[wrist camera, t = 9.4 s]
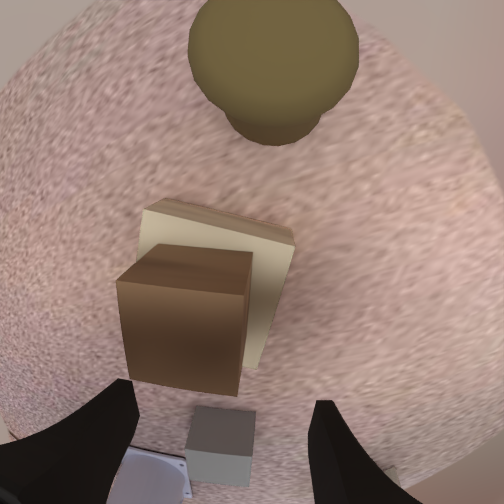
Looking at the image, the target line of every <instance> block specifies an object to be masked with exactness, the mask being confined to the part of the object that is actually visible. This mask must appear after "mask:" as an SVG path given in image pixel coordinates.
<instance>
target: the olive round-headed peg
mask: <svg viewBox="0 0 504 504" xmlns="http://www.w3.org/2000/svg"><path fill="white" fill-rule="evenodd" d="M188 59H189V63H190V67H191V70H192V74H193V77H194V81H195V82H196V83H197V85H198V86H199V87H200V89H201V90H202V92H203V93H204V94H205V96H206V97H207V99H208V100H209V101H210V102H212V103H213V104H214V105H216V106H217V107H219V108H220V109H221V110H223V111H224V112H225V114H226V117H227V119H228V120H229V122H230V123H231V125H232V126H233V127H234V129H235V130H236V131H237V132H239V133H240V134H241V135H243V136H244V137H245V138H246V139H248V140H251V141H253V142H256V143H259V144H261V145H271V146H281V145H285V144H290V143H294V142H296V141H298V140H299V139H301V138H303V137H304V136H306V135H308V134H309V133H310V132H311V130H312V129H313V128H314V127H315V126H316V125H317V124H318V122H319V120H320V117H321V115H322V114H323V113H325V112H327V111H328V110H330V109H332V108H333V107H334V106H335V105H336V104H337V103H338V102H339V101H340V100H341V98H342V97H343V96H344V95H345V94H346V93H347V92H348V91H349V89H350V88H351V85H352V82H353V80H354V77H355V75H356V72H357V69H358V66H359V38H358V35H357V32H356V30H355V27H354V24H353V22H352V19H351V17H350V15H349V14H348V13H347V12H346V10H345V9H344V8H343V7H342V6H341V4H340V3H339V2H338V1H337V0H208V1H207V2H206V3H205V4H204V5H203V6H202V7H201V8H200V10H199V12H198V14H197V16H196V18H195V20H194V22H193V24H192V26H191V28H190V33H189V43H188Z"/></svg>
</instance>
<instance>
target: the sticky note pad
mask: <svg viewBox="0 0 504 504" xmlns="http://www.w3.org/2000/svg"><path fill="white" fill-rule="evenodd" d="M157 244H169V245H180V246H191V247H202V248H213V249H224V250H236V251H247V252H253V261H252V274H251V287H250V300H249V312H248V325H247V337H246V344H245V350H244V356H243V363H242V367H246V368H250V369H255V370H257V367H258V364H259V361H260V358H261V355H262V352H263V349H264V346H265V343H266V339H267V336H268V333H269V330H270V327H271V324H272V321H273V318H274V315H275V311H276V308H277V305H278V302H279V299H280V295H281V292H282V289H283V286H284V283H285V279H286V276H287V273H288V269H289V266H290V263H291V259H292V256H293V253H294V249H295V243H294V239H293V234H292V230H291V229H290V228H286V227H282V226H278V225H274V224H270V223H266V222H262V221H258V220H254V219H250V218H246V217H242V216H238V215H234V214H230V213H226V212H222V211H218V210H214V209H210V208H205V207H201V206H197V205H193V204H189V203H184V202H180V201H176V200H171V199H167V198H165V199H163V200H161V201H159V202H156V203H154V204H152V205H150V206H148V207H146V208H144V209H143V214H142V221H141V228H140V235H139V243H138V251H137V260H136V262H137V261H138V260H139V259H140V258H142V257H143V256H144V255H145V254H146V253H147V252H149V251H150V250H151V249H152V248H153V247H154V246H156V245H157Z"/></svg>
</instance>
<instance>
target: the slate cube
mask: <svg viewBox="0 0 504 504" xmlns="http://www.w3.org/2000/svg"><path fill="white" fill-rule="evenodd" d="M255 417H256V412H251V411H239V410H228V409H219V408H211V407H203V406H196V410H195V413H194V417H193V420H192V424H191V427H190V431H189V434H188V438H187V441H186V445H185V455H186V461H187V467H188V472H189V478H190V480H193V481H199V482H206V483H213V484H221V485H231V486H241V487H249V484H250V474H251V465H252V455H253V442H254V429H255Z"/></svg>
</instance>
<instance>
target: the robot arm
mask: <svg viewBox="0 0 504 504" xmlns="http://www.w3.org/2000/svg"><path fill="white" fill-rule="evenodd" d="M139 417H140V413H139V409H138V405H137V401H136V397H135V393H134V388H133V384H132V381H129V380H124V379H119V378H118V379H117V380H116V381H114V382H113V383H112V384H111V385H109V386H108V387H107V388H106V389H104V390H103V391H102V392H101V393H99V394H98V395H97V396H95V397H94V398H93V399H92V400H90V401H89V402H88V403H86V404H85V405H84V406H82V407H81V408H80V409H78V410H77V411H75V412H74V413H72V414H71V415H69V416H68V417H66V418H65V419H63V420H61V421H60V422H58V423H56V424H54V425H52V426H50V427H49V428H47V429H45V430H43V431H40V432H38V433H35V434H33V435H31V436H28V437H26V438H23V439H20V440H17V441H13V442H10V443H6V444H2V445H0V504H182V503H183V499H184V498H192V496H193V495H192V489H191V484H190V478H189V472H188V467H187V461H186V460H185V459H184V458H180V457H174V456H169V455H164V454H159V453H155V452H150V451H146V450H142V449H138V448H134V447H130V446H129V445H130V442H131V440H132V438H133V436H134V433H135V430H136V427H137V423H138V420H139ZM308 457H309V464H310V471H311V478H312V485H313V492H314V500H315V504H422V503H421V502H419V501H417V500H416V499H415V498H413V497H412V496H411V495H409V494H408V493H407V492H406V491H404V490H403V489H402V488H401V487H399V486H398V485H397V484H396V483H394V482H393V481H392V480H391V479H390V478H389V477H388V476H387V475H386V474H385V473H384V472H383V471H382V470H381V469H380V468H379V467H378V466H377V465H376V464H375V462H374V461H373V460H372V459H371V458H370V456H369V455H368V454H367V453H366V451H365V450H364V449H363V448H362V446H361V445H360V444H359V442H358V441H357V439H356V438H355V436H354V435H353V433H352V432H351V430H350V429H349V427H348V426H347V424H346V423H345V421H344V419H343V418H342V416H341V414H340V412H339V411H338V409H337V407H336V405H335V403H334V402H333V401H332V400H316V404H315V408H314V412H313V416H312V420H311V424H310V427H309V431H308ZM121 463H122V466H121V469H120V471H119V473H118V476H117V478H116V481H115V483H114V485H113V488H112V490H111V492H110V488H111V485H112V482H113V480H114V477H115V475H116V472H117V470H118V468H119V466H120V464H121ZM109 492H110V495H109ZM108 495H109V497H108ZM107 498H108V500H107Z"/></svg>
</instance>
